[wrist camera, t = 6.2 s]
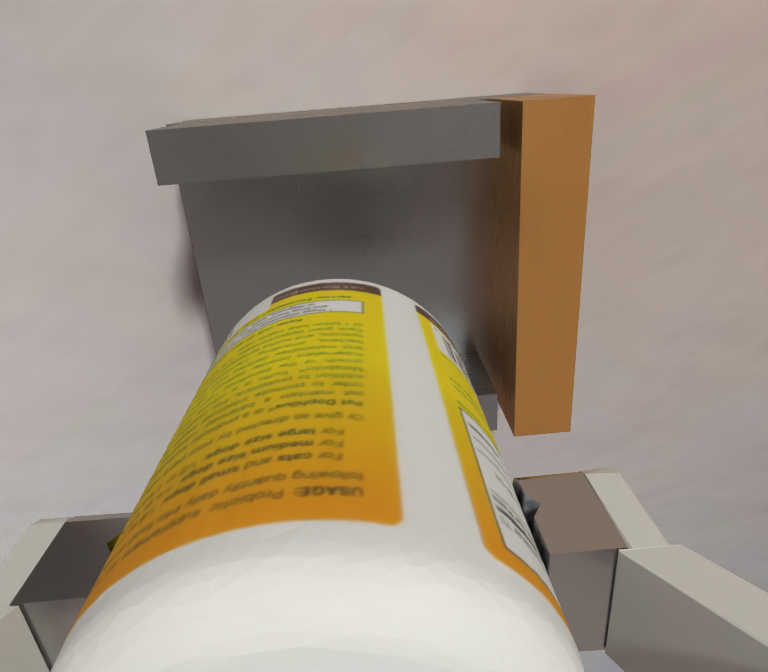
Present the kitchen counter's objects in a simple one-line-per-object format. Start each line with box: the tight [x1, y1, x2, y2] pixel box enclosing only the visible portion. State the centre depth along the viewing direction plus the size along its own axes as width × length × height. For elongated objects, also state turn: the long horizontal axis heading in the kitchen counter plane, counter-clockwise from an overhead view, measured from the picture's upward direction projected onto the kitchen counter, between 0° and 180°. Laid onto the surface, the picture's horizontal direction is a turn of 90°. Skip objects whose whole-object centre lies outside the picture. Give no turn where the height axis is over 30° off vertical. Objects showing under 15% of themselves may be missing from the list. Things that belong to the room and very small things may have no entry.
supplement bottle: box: [50, 279, 585, 672], centre depth 8 cm, size 6×6×10 cm
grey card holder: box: [146, 93, 595, 436], centre depth 21 cm, size 13×11×7 cm
